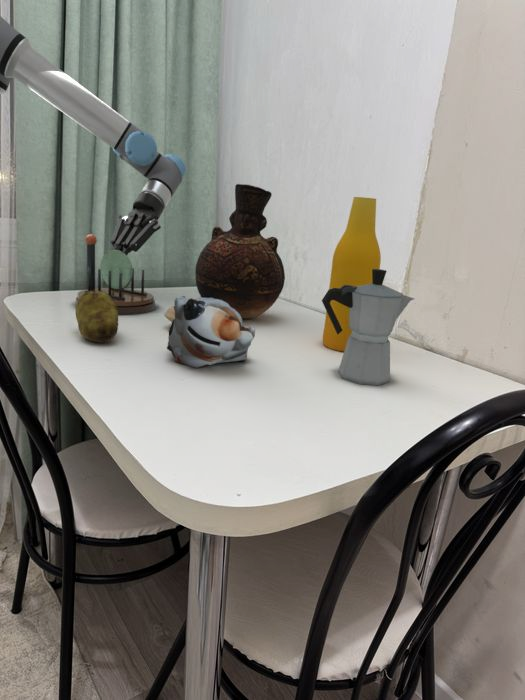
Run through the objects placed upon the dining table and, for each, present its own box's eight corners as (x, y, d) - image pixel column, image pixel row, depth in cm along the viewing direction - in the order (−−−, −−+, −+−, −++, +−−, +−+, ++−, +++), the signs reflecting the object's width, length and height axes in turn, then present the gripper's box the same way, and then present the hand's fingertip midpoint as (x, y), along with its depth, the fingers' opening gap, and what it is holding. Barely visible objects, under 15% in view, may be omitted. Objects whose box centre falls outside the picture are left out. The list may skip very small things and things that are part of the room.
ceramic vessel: (182, 318, 114) (188, 178, 106) (204, 304, 130) (211, 183, 122) (273, 329, 111) (287, 186, 102) (285, 314, 127) (297, 190, 119)
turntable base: (58, 305, 115) (58, 298, 115) (112, 295, 131) (112, 289, 131) (121, 318, 109) (121, 311, 108) (169, 306, 124) (170, 300, 124)
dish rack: (59, 297, 115) (58, 234, 111) (111, 288, 130) (111, 233, 126) (121, 309, 109) (121, 243, 105) (167, 299, 124) (169, 240, 120)
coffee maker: (393, 370, 90) (410, 268, 84) (408, 388, 81) (428, 276, 76) (309, 364, 89) (322, 261, 84) (317, 381, 80) (331, 268, 75)
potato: (66, 345, 87) (65, 299, 85) (79, 326, 99) (79, 286, 97) (116, 347, 89) (116, 302, 86) (123, 328, 101) (123, 289, 99)
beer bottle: (313, 344, 102) (330, 194, 94) (337, 338, 109) (356, 197, 101) (352, 356, 96) (375, 197, 88) (375, 348, 103) (398, 200, 95)
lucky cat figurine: (258, 355, 91) (276, 295, 81) (228, 398, 82) (245, 338, 73) (185, 320, 93) (195, 258, 84) (149, 359, 85) (155, 295, 75)
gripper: (177, 214, 137) (137, 281, 127) (138, 210, 142) (96, 274, 132) (166, 192, 131) (123, 262, 121) (126, 189, 136) (81, 255, 126)
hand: (109, 268), depth 126 cm, fingers closed
